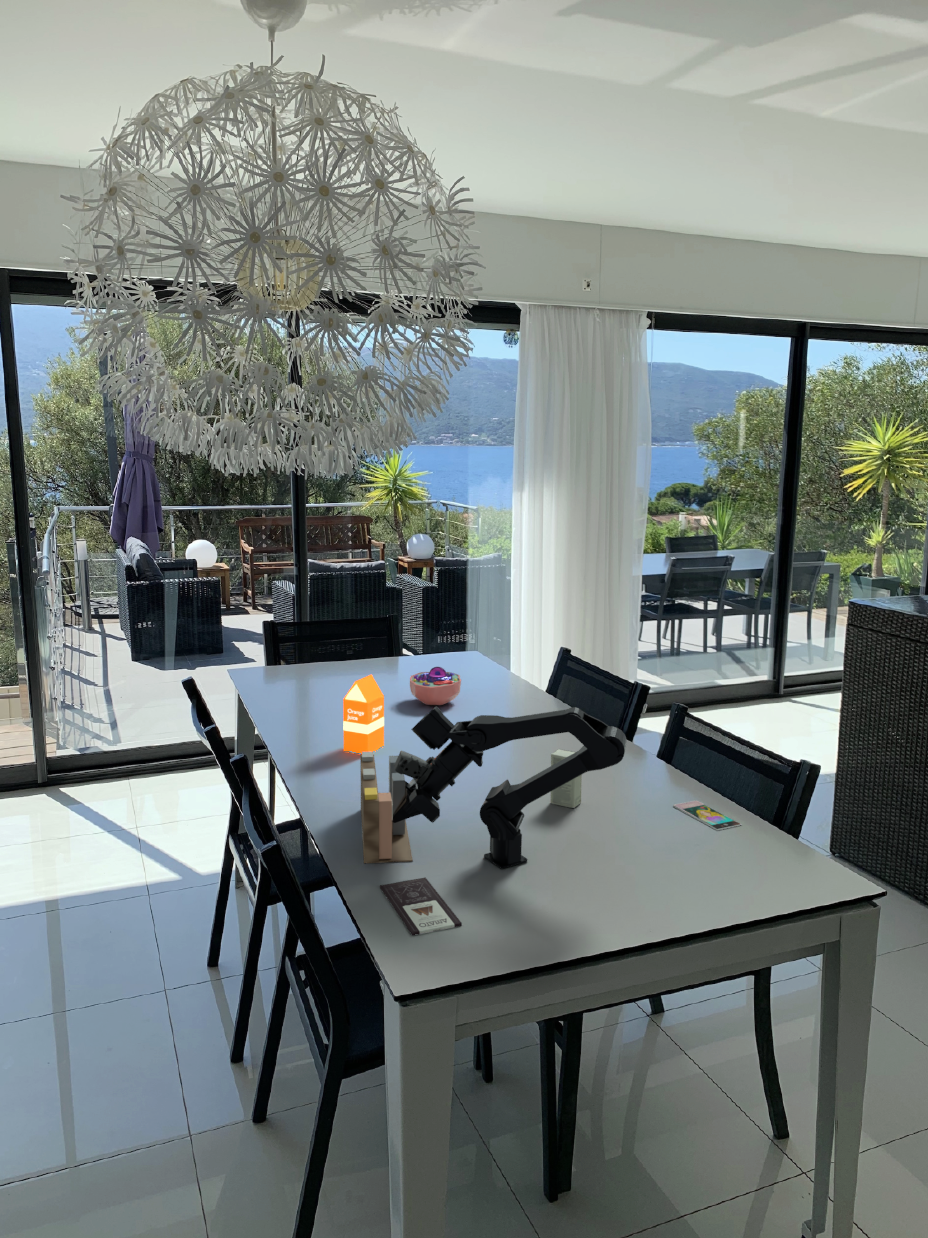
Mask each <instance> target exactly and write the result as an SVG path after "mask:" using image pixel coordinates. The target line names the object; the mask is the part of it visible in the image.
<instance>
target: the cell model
mask: <svg viewBox="0 0 928 1238" xmlns="http://www.w3.org/2000/svg"><path fill="white" fill-rule="evenodd" d="M461 685H462V679H461V675H460V674H457V673H454V672H450V671H446V669H445V668H443V667H441V666H434V667H432V668H431V669H430V671H422V672H421V671H420V672H417V673H415V674H413V675H410V677H409V690H410V693H411V695H412V696H413V697H414V698H416V699H417V700H418V701H420V702H421V703H423V704H424V705H427V706H444V705H445V704H447V703H450V702H452V701H454V700H455V699H456V698H457V697H458V696H459V695H460V693H461V687H462V686H461Z"/></svg>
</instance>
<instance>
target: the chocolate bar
mask: <svg viewBox="0 0 928 1238" xmlns="http://www.w3.org/2000/svg"><path fill="white" fill-rule="evenodd" d="M379 889H380V890H381V892H382V891H383V892H382V893H383V895H384V896H385V897H387V898H386V899H387V901H389V904H390V903H391V904H390V905H391V907H392V908H393V910H394V911H395V912H396V914H397V916H398V917H399V918H400V920H401V922H402V923H403V924H404V926H405V927H406V929H407V930H408V932H409V933H410V935H411V934H412V935H411V936H412V937H413V936H416V935H415V934H418V935H422V934H426V933H427V934H429V933H432V932H438V931H442V930H448V929H451V928H452V929H453V928H457V927H462V924H463V923H462V922H461V920H460V919H459V918H458V916H457V915H456V914H455V913H454V911H453V910H452V909H451V908H450V906H449V905H448V904H447V902H445V900H444V899H443V897H442V896H441V895H440V893H439V892H438V891H437V890H436V889H435V887H434V886H433V885H432V884H431V882H430V881H429V880H428V878H427V877H425V876H424V877H420V878H415V879H409V880H408V879H407V880H403V881H398V882H396V881H395V882H392V883H386V884H381V885H379Z"/></svg>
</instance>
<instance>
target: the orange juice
mask: <svg viewBox="0 0 928 1238" xmlns="http://www.w3.org/2000/svg"><path fill="white" fill-rule="evenodd" d="M342 701H343V702H342V703H343V705H342V709H343V710H342V711H343V712H342V713H343V716H342V717H343V719H342V720H343V722H342V723H343V725H342V726H343V730H342V731H343V752H344V751H352V752H356V753H361V754H362V752H370V751H375V752H377V751H378V749H379V748H380V747H382V746H384V747H385V695H384V694H383V692H382V690H381V688H380V687H379V685H378V683H377V681H376V680H375V678H374V676H373V674H368V675H367V676H364V677H362V678H359V679H357V680H355V681H354V682H353V684H352V685H351V687H350V689H348V691H347V693H346V695H344V697H343V699H342ZM382 748H383V747H382ZM376 750H377V751H376ZM379 750H380V749H379Z"/></svg>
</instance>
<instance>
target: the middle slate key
mask: <svg viewBox="0 0 928 1238" xmlns="http://www.w3.org/2000/svg"><path fill="white" fill-rule="evenodd" d="M405 781H406V777H405V775H404V774H399V773H392V804H393V814H394V812H395V810H396V808H397V807H398V805H399V803H400V802H401V800H402V798H403V796H404V794H405ZM405 820H406V819H405ZM405 820H402V821H399V822H397V823H393V822H392V832H393V835H405Z"/></svg>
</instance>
